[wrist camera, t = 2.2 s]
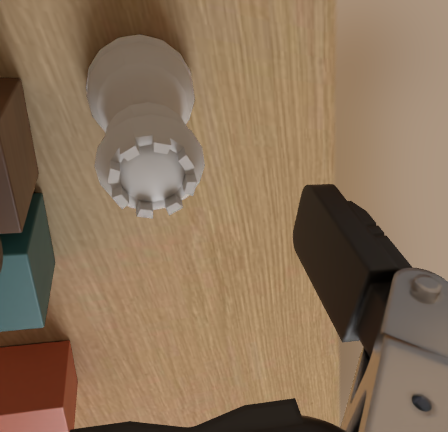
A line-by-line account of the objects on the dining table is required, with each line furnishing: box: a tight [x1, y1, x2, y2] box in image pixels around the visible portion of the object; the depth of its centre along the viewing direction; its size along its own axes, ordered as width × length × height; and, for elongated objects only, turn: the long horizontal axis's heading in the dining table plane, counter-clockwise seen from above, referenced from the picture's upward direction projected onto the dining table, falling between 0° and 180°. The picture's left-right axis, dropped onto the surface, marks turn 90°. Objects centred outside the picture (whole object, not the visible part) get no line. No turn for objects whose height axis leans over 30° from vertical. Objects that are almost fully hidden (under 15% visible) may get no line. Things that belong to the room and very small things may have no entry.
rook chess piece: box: [86, 34, 205, 218], centre depth 15 cm, size 4×4×8 cm
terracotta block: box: [0, 341, 78, 432], centre depth 26 cm, size 4×4×4 cm
